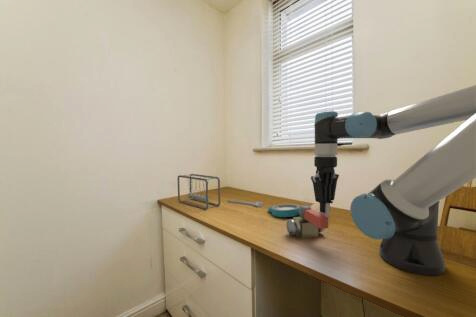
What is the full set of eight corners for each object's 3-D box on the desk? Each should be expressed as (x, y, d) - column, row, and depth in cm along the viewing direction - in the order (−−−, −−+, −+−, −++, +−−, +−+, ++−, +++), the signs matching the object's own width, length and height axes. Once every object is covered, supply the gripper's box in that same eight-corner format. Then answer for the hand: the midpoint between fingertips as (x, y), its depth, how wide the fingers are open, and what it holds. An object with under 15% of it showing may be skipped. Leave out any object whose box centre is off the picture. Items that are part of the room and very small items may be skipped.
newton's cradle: (177, 201, 135) (177, 175, 134) (191, 198, 143) (190, 173, 142) (207, 210, 115) (206, 179, 114) (220, 206, 123) (220, 177, 122)
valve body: (314, 229, 87) (315, 213, 86) (325, 235, 80) (325, 218, 80) (285, 232, 84) (285, 216, 83) (294, 239, 77) (294, 222, 77)
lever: (297, 215, 83) (297, 206, 83) (307, 214, 84) (307, 205, 84) (318, 229, 69) (318, 217, 69) (330, 227, 70) (330, 216, 70)
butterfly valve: (257, 223, 102) (319, 230, 84) (255, 209, 102) (317, 213, 84) (280, 210, 123) (333, 213, 105) (279, 198, 123) (332, 200, 105)
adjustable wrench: (226, 202, 133) (226, 200, 133) (232, 200, 138) (232, 198, 138) (260, 208, 119) (260, 205, 118) (265, 205, 124) (265, 202, 124)
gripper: (327, 155, 80) (326, 214, 81) (304, 156, 73) (304, 220, 74) (346, 155, 73) (345, 220, 75) (323, 156, 67) (322, 227, 68)
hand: (324, 220), depth 75 cm, fingers closed
